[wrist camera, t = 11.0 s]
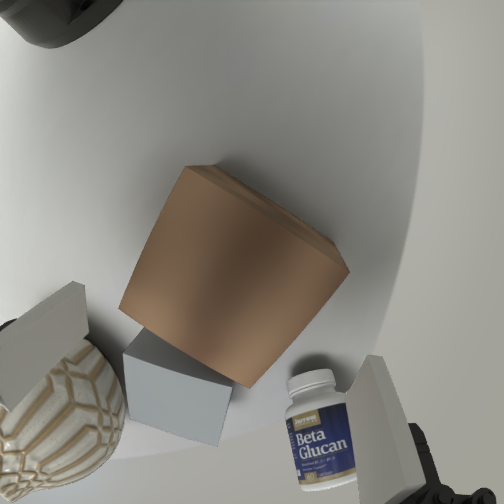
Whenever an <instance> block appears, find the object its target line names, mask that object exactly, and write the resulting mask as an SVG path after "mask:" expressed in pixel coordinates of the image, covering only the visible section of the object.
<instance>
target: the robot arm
mask: <svg viewBox="0 0 504 504" xmlns="http://www.w3.org/2000/svg"><path fill="white" fill-rule="evenodd" d="M121 2H122V0H0V16H1V17H2V18H3V19H4V20H5V21H6V22H7V23H8V24H9V25H10V26H11V27H12V28H13V29H14V30H15V31H16V32H17V33H18V34H19V35H21V36H22V37H23V38H24V39H25V40H26V41H27V42H29V43H31V44H34V45H37V46H40V47H43V48H57V47H60V46H63V45H66V44H68V43H70V42H72V41H74V40H76V39H77V38H79V37H81V36H82V35H84V34H85V33H87V32H88V31H89V30H91V29H92V28H93V27H95V26H96V25H97V24H98V23H100V22H101V21H102V20H103V19H104V18H105V17H107V16H108V15H109V14H110V13H111V12H112V11H113V10H114V9H115V8H116V7H117V6H118V5H119V4H120V3H121ZM88 333H89V328H88V319H87V309H86V298H85V285H83V284H80V283H77V282H74V281H72V282H71V283H69V284H68V285H66V286H65V287H63V288H62V289H60V290H58V291H57V292H55V293H54V294H52V295H51V296H50V297H48V298H47V299H45V300H44V301H42V302H41V303H39V304H38V305H36V306H35V307H34V308H32V309H31V310H29V311H28V312H26V313H25V314H24V315H22V316H21V317H19V318H18V319H13V320H10V321H8V322H6V323H4V324H3V325H1V326H0V405H1V406H2V407H4V408H5V409H6V410H7V411H8V412H10V413H11V412H12V411H13V410H14V408H15V407H16V406H17V405H18V404H19V403H20V402H21V401H22V400H23V399H24V398H25V397H26V395H27V394H28V393H29V392H30V391H31V390H32V389H33V388H34V387H35V386H36V385H37V384H38V383H39V382H40V381H41V380H42V379H43V378H44V377H45V376H46V374H47V373H48V372H49V371H50V370H51V369H52V368H53V367H54V366H55V365H56V364H57V363H58V362H59V361H60V360H61V359H62V358H63V357H64V356H65V355H66V354H67V353H68V352H69V351H70V350H71V349H72V348H73V347H74V346H75V345H76V344H77V343H78V342H80V341H81V340H82V339H83V338H84V337H85V336H86V335H87V334H88ZM345 402H346V407H347V413H348V419H349V425H350V431H351V438H352V444H353V451H354V458H355V466H356V473H357V481H358V490H359V499H360V504H496V497H495V495H494V493H493V492H492V491H491V490H490V489H488V488H480V489H478V490H477V491H475V492H474V493H473V494H472V495H460V494H455V493H454V491H453V490H452V489H451V488H450V487H449V486H447V485H443V484H441V482H440V480H439V477H438V473H437V471H436V467H435V464H434V461H433V458H432V455H431V453H430V449H429V446H428V445H427V441H426V438H425V435H424V433H423V431H422V430H421V429H420V427H419V426H418V425H417V424H416V423H407V420H406V417H405V414H404V411H403V408H402V406H401V403H400V400H399V397H398V395H397V392H396V389H395V387H394V384H393V382H392V379H391V377H390V374H389V371H388V369H387V366H386V364H385V362H384V359H383V357H381V356H374V355H367V357H366V359H365V361H364V363H363V365H362V367H361V369H360V371H359V373H358V375H357V376H356V378H355V380H354V382H353V384H352V386H351V388H350V389H349V391H348V393H347V395H346V397H345Z"/></svg>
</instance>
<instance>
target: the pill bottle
mask: <svg viewBox="0 0 504 504" xmlns="http://www.w3.org/2000/svg"><path fill="white" fill-rule="evenodd" d="M286 384H287V389H288V394H289V397H290V399H293V404H292V405H291V406H289V407H288V408H287V410H286V412H285V419H286V425H287V429H288V434H289V438H290V442H291V447H292V452H293V457H294V461H295V466H296V471H297V475H298V480H299V484H300V487H301V489H302V490H304V491H318V490H324V489H328V488H333V487H336V486H339V485H343V484H346V483H349V482H351V481H354V480H356V479H357V473H356V466H355V458H354V451H353V444H352V438H351V431H350V425H349V419H348V413H347V407H346V402H345V397H346V394H345V393H342V392H336V391H335V389H334V387H335V386H336V383H335V378H334V375H333V372H332V370H330V369H318V370H312V371H308V372H305V373H302V374H299V375H297V376H294V377H292V378H291V379H289V380H288V381H287V383H286Z"/></svg>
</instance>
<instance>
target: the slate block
mask: <svg viewBox="0 0 504 504" xmlns="http://www.w3.org/2000/svg"><path fill="white" fill-rule="evenodd" d="M123 363H124V374H125V384H126V393H127V401H128V408H129V415H130V419H133V420H135V421H138V422H140V423H143V424H145V425H148V426H151V427H154V428H156V429H159V430H162V431H165V432H168V433H171V434H174V435H177V436H180V437H184V438H187V439H190V440H194V441H197V442H201V443H205V444H208V445H212V446H216V447H218V443H219V440H220V436H221V432H222V428H223V425H224V421H225V417H226V413H227V409H228V406H229V402H230V398H231V394H232V390H233V385H234V380H232V379H230V378H228V377H226V376H224V375H223V374H221V373H219V372H217V371H215V370H214V369H212V368H210V367H208V366H206V365H205V364H203V363H201V362H200V361H198V360H196V359H194V358H193V357H191V356H189V355H188V354H186V353H184V352H183V351H181V350H179V349H178V348H176V347H175V346H173V345H171V344H170V343H168V342H167V341H165V340H163V339H162V338H160V337H159V336H157V335H156V334H154V333H153V332H151V331H150V330H148V329H147V328H145V327H144V328H143V329H142V330H141V332H140V333H139V334H138V335H137V336H136V338H135V339H134V340H133V341H132V343H131V344H130V345H129V346H128V347H127V349H126V350H125V351H124V352H123Z"/></svg>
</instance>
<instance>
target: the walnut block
mask: <svg viewBox="0 0 504 504" xmlns="http://www.w3.org/2000/svg"><path fill="white" fill-rule="evenodd" d="M349 273H350V271H349V269H348V267H347V266H346V264H345V262H344V260H343V258H342V257H341V255H340V253H339V251H338V249H337V248H336V246H335V244H334V243H333V242H332V241H330V240H329V239H328V238H326V237H325V236H323V235H322V234H320V233H319V232H317V231H316V230H314V229H313V228H311V227H310V226H308V225H307V224H305V223H304V222H302V221H301V220H299V219H298V218H296V217H295V216H293V215H292V214H290V213H289V212H287V211H286V210H284V209H283V208H281V207H280V206H278V205H276V204H275V203H273V202H272V201H270V200H269V199H267V198H266V197H264V196H262V195H261V194H259V193H258V192H256V191H254V190H253V189H251V188H250V187H248V186H246V185H245V184H243V183H242V182H240V181H238V180H237V179H235V178H234V177H232V176H230V175H229V174H227V173H225V172H224V171H222V170H220V169H219V168H217V167H215V166H214V165H206V166H185V168H184V169H183V171H182V173H181V175H180V177H179V179H178V180H177V182H176V184H175V186H174V188H173V190H172V192H171V194H170V195H169V197H168V199H167V201H166V203H165V205H164V207H163V209H162V211H161V213H160V215H159V217H158V219H157V221H156V223H155V225H154V227H153V230H152V232H151V234H150V236H149V238H148V240H147V242H146V244H145V247H144V249H143V251H142V253H141V255H140V258H139V260H138V262H137V264H136V267H135V269H134V271H133V274H132V276H131V278H130V281H129V283H128V286H127V288H126V290H125V293H124V295H123V298H122V300H121V303H120V305H119V308H118V309H119V310H121V311H122V312H124V313H125V314H126V315H128V316H129V317H131V318H132V319H134V320H135V321H136V322H138V323H139V324H141V325H142V326H144V327H145V328H147V329H148V330H150V331H151V332H153V333H154V334H156V335H157V336H159V337H160V338H162V339H163V340H165V341H167V342H168V343H170V344H171V345H173V346H175V347H176V348H178V349H179V350H181V351H183V352H184V353H186V354H188V355H189V356H191V357H193V358H194V359H196V360H198V361H200V362H201V363H203V364H205V365H206V366H208V367H210V368H212V369H214V370H215V371H217V372H219V373H221V374H223V375H224V376H226V377H228V378H230V379H232V380H234V381H236V382H238V383H240V384H242V385H243V386H245V387H247V388H249V389H250V388H251V387H252V386H253V385H254V384H255V383H256V381H257V380H258V379H259V378H260V377H261V376H262V375H263V374H264V373H265V372H266V371H267V370H268V369H269V368H270V367H271V366H272V364H273V363H274V362H275V361H276V360H277V359H278V358H279V357H280V356H281V355H282V354H283V352H284V351H285V350H286V349H287V348H288V347H289V346H290V345H291V343H292V342H293V341H294V340H295V339H296V338H297V337H298V335H299V334H300V333H301V332H302V331H303V330H304V328H305V327H306V326H307V325H308V324H309V323H310V321H311V320H312V319H313V318H314V317H315V315H316V314H317V313H318V312H319V311H320V309H321V308H322V307H323V306H324V304H325V303H326V302H327V301H328V300H329V298H330V297H331V296H332V295H333V293H334V292H335V291H336V289H337V288H338V287H339V286H340V284H341V283H342V282H343V281H344V279H345V278H346V277H347V275H348V274H349Z"/></svg>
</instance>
